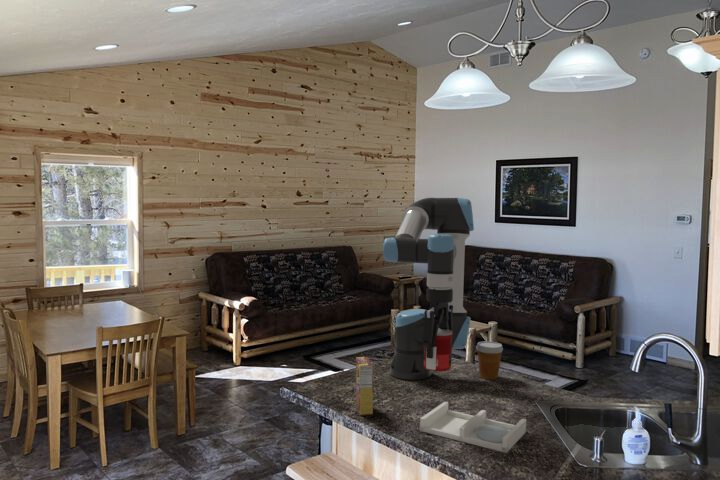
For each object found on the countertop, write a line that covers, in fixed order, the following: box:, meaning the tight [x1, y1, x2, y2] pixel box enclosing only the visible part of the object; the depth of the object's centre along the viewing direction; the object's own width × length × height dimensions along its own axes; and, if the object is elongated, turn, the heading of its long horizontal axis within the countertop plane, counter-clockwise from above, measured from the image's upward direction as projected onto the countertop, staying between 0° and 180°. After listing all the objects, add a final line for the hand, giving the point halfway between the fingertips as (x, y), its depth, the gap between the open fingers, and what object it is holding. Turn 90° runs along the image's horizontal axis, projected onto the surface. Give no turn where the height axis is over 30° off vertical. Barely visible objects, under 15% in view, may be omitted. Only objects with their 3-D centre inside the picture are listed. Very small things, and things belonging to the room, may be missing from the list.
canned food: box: [424, 328, 453, 372], centre depth 176 cm, size 8×8×11 cm
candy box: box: [355, 356, 374, 416], centre depth 185 cm, size 9×4×15 cm, turn 8°
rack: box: [419, 401, 527, 453], centre depth 168 cm, size 16×25×4 cm, turn 57°
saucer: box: [476, 425, 509, 443], centre depth 165 cm, size 9×9×1 cm
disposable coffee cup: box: [475, 340, 504, 380], centre depth 219 cm, size 10×10×12 cm
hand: (437, 365), depth 176 cm, fingers closed on canned food, 8 cm apart
